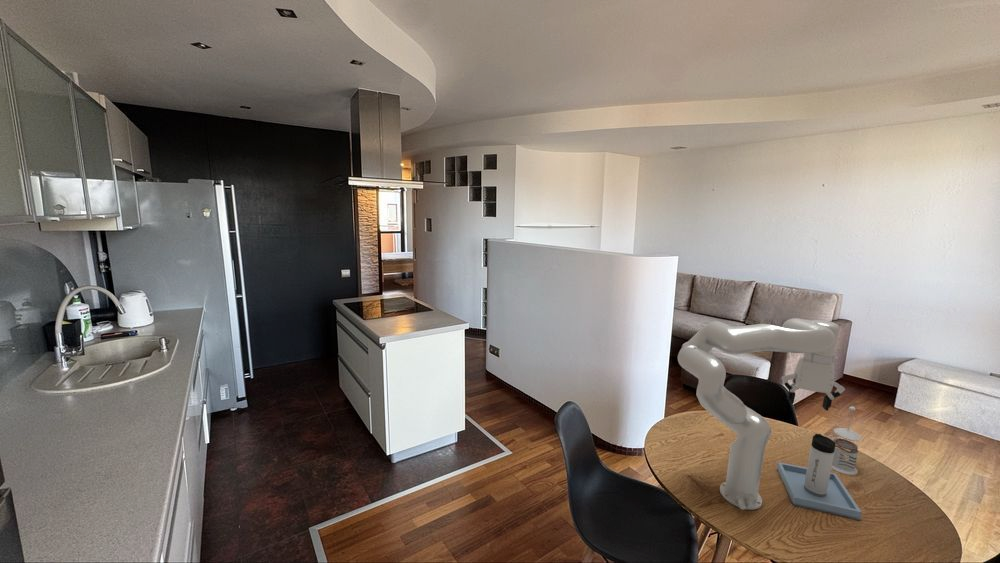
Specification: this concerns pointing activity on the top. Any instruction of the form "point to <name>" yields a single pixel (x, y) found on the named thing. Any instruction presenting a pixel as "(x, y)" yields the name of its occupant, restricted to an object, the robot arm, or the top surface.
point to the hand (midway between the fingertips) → (807, 405)
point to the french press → (839, 461)
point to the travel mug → (819, 465)
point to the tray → (832, 503)
